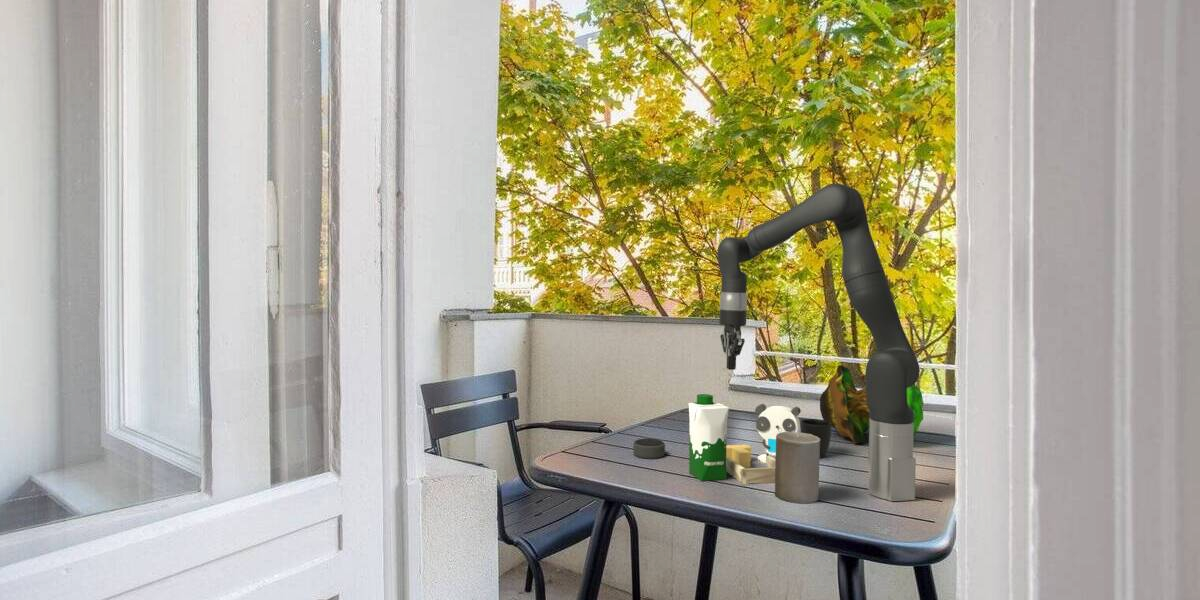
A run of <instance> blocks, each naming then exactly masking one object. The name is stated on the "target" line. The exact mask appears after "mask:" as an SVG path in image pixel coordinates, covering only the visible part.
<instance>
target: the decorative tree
mask: <svg viewBox="0 0 1200 600" xmlns="http://www.w3.org/2000/svg"><path fill="white" fill-rule="evenodd" d="M920 389H921V388H919V387H918V386H916V383H915V384H914V385H913V386H911V387H909V388H907V403H908V406H909V407H910V408H911V409H912V410H913V412H914V434H913V438H915V436H916V435H917V432H918V429H919V427H920V425H921V423H922V421H923V420H924V418H925V417H924V412H923V411H924V410H923V407H924V398H923V393H922V391H921V390H920ZM819 411H820V414H821V418H822V420H824V421H828V422H830V423H831V428H834V429H835V430H837V432H838V434H839V436H840V437H848V438H850V440H852V442H853V444H854V445H857V444H861V443H864V442H865V439H866V437H865V433H866V432H867V431H869V430H868V429H869V409H868V407H867V403H866V384H865V385H864V387H863V388H860V389H859V390H858V389H857V388H856V386H855V384H854V380H853V375H852V373H851V370H850V369H849V368H848V367H845V366H844V365H842V364H838V365H837V367H836V372H835V374H834V375H833V376H832V377H831V378H830V379H829V380H828V385H827V387H826V388H825V389H824V391H823V392H822V393H821V394H820V398H819Z"/></svg>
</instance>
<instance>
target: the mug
mask: <svg viewBox="0 0 1200 600" xmlns="http://www.w3.org/2000/svg"><path fill="white" fill-rule="evenodd" d="M799 422H800V429H799V431H800V433H806V434H811V435H814V436H816V437H818V438H820V459H823V458H826V457H827V453H828V450H829V446H830V443H831V437H832V427H831V423H830V422H828V421H824V420H823V419H817V418H816V419H815V418H809V419H807V418H801V419H800V420H799Z"/></svg>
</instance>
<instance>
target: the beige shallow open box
mask: <svg viewBox="0 0 1200 600" xmlns="http://www.w3.org/2000/svg"><path fill="white" fill-rule="evenodd" d="M726 469H727V474H729V475H730V476H731V475H732V477H733V478H734V479H735V478H736V479H737V482H739V481H740V482H741V483H742V484H741V483H740V482H739V483H740V484H741V485H752V484H751V483H760V484H775V459H774V458H772V457H771V456H766V464H765V467H750V468H743V467H742V466H741V465H739V464H738V463H737V462H735V461H734V460H732V459H731V458H726ZM736 479H735V480H736ZM749 483H750V484H749Z"/></svg>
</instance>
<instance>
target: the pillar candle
mask: <svg viewBox="0 0 1200 600" xmlns="http://www.w3.org/2000/svg"><path fill="white" fill-rule="evenodd" d="M820 460H821V458H820V438H818V437H816V436H814V435H811V434H806V433H801V431H800V432H798V431H797V432H782V433H778V434H777V435H776V458H775V483H774V496H775V497H776V498H777V497H778V498H777V499H780V500H782V501H784V500H785V502H788V501H790V503H792V502H796V503H795V504H802V503H803V504H805V505H806V504H813V503H816V502H817V501H819V493H820V492H819V489H820V488H819V487H820ZM803 504H802V505H803Z"/></svg>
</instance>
